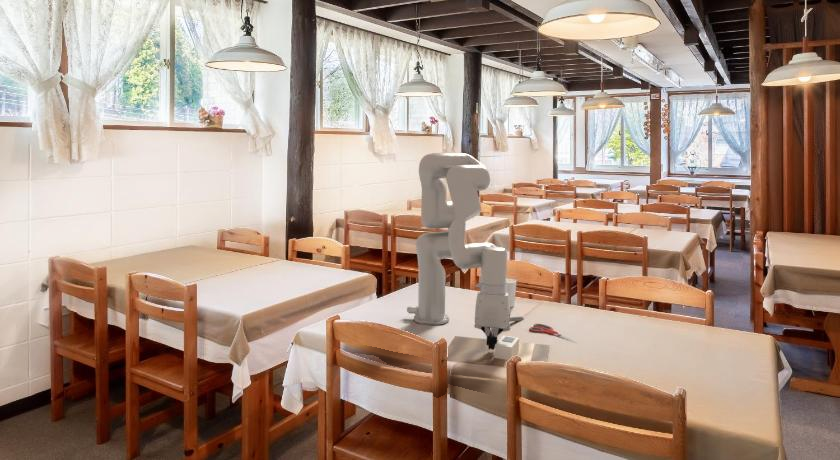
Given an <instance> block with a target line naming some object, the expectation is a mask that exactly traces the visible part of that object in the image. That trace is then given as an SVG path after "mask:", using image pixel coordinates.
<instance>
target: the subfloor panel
mask: <svg viewBox="0 0 840 460" xmlns="http://www.w3.org/2000/svg"><path fill="white" fill-rule="evenodd" d="M499 340H500V339H497V342H498V341H499ZM447 348H448V357H447V361H448V362H454V363H465V364H471V365H481V366H482V365H484V366H493V367H500V368H501V367H502V368H507V367H506V362H507V361H508V360H504V359H498V358H495V348H494V350H492V349H488V345H487V338H482V337H481V338H480V337H479V338H478V337H468V336H461V335H460V336H459V335H458V336H457V335H455V336H453V339H452V340H451V342H450V344H448V346H447ZM549 349H550V344H541V343H532V342H531V343H530V342H522V341H519V351H518V352H517V354H516V355H519V356H520V357H521V358H522V362H526V361H544V362H547V363H548V357H549V356H548V355H549ZM447 361H446V362H447Z"/></svg>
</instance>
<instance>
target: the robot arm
mask: <svg viewBox="0 0 840 460" xmlns="http://www.w3.org/2000/svg"><path fill="white" fill-rule="evenodd" d="M418 165H419V166H418V176H419V180H420V185H421V186H420V187H421V200H420V201H421V202H420V203H421V206H420V207H421V209H420V216H421V217H420V219H421V224H422V226H423V227H424V228H426V229H429V230H430V229H431V230H438V229H447V231H446V230H445V231H433V232H426V233H425V232H424V233H423V234H421V235H419V236H418V237H417V238H416V241H415V249H416V250H415V251H416V255H417V256H416V257H417V266H418V268H417V269H418V292H417V293H418V294H417V295H418V301H417V303H418V304H417V306H414V307H413V306H407V308H406V312H407V313H408V314H411V315H412V314H414V316H413V321H414V322H415V323H418V324H419V325H426V326H427V325H428V326H437V325H438V326H439V325H443V324H444V325H445V324H447V323H448V322H450V316H449V315H448V314H446V270H445V267H444V265H442V264H443V263H441V261H440V260H443V259H452V261H453V263H454V264H455V266H456V267H457V268H458V269H461V270H464V269H465V270H467V269H469V270H470V269H476V268H479V269H480V283H479V282H478V283H475V289H478V290H479V291H478V292H477V295H476V298H475V299H476V300H475V309H474V310H475V311H474V327H473V328H475V329H478V330H481V331H482V332H483V334H485V336H486V339H487V345H488V349H492V350H494V348H495V344H496V343H497V340H498V337H499V335H500V334H502V332H509V331H511V325H510V324H511V322H510V317H511V307H510V304H509V296H508V293H506V278H507V275H508V274H507V272H508V271H507V270H508V269H507V268H508V252H507V250H506V249H505V248H504V247H500V246H496V245H495V244H494V243H492V242H472V243H471V242H470V243H466V242H465V241H466V224H467V223H466V222H467V221H469V220H471V219H473V218H475V217H476V216H479V214H480V213H481V212H482V205H481V202H480V198H479V195H478V193H479V192H480V191H485V190H487V189H488V188H489V186H490V185H491V184H490V183H491V177H490V176H491V175H490V173H489V170H488V168H487V167H486V166H485V165H484V164H483V163H481V162H480V161H479V160H477V159H476V158H475V157H474V156H472V155H470V154H468V153H464V152H432V153H427V154H426V155H423V157H422V158H421V160H419V164H418ZM442 179H445V180H446V183H447V188H448V192H449V197H450V200H447V188H446V185H445V183H444V180H442ZM478 191H479V192H478ZM491 328H495V329H494V331H491ZM492 332H493V333H492Z"/></svg>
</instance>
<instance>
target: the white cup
mask: <svg viewBox="0 0 840 460" xmlns="http://www.w3.org/2000/svg"><path fill="white" fill-rule="evenodd" d="M516 290H517V280H516V279H515V278H508V277H506V293H508V296H509V304H510V308H513V307H514V306H515V299H516Z"/></svg>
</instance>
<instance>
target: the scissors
mask: <svg viewBox="0 0 840 460" xmlns="http://www.w3.org/2000/svg"><path fill="white" fill-rule="evenodd" d="M528 331H529V332H531V333H535V334H545V335H546V334H547V335H551V336H555V337H558V338H560V339H563V340H566V341H569V342H571V343H575V344H577V341H574V340H572V339H571V338H569V337H567V336H564V335H562V334H559V332H557V331H555V330H554V327H551V326H550V325H547V324H542V323H534V324H533V326H531V327H529V328H528Z"/></svg>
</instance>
